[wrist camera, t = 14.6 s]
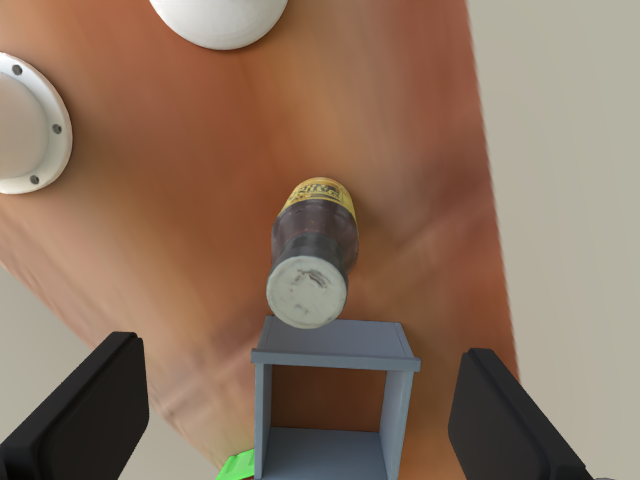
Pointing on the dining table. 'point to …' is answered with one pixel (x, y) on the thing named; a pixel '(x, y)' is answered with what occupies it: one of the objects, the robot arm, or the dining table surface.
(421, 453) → the dining table surface
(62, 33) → the dining table surface
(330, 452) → the blue wooden frame
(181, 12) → the candlestick
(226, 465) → the fruit basket
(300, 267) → the sauce bottle
